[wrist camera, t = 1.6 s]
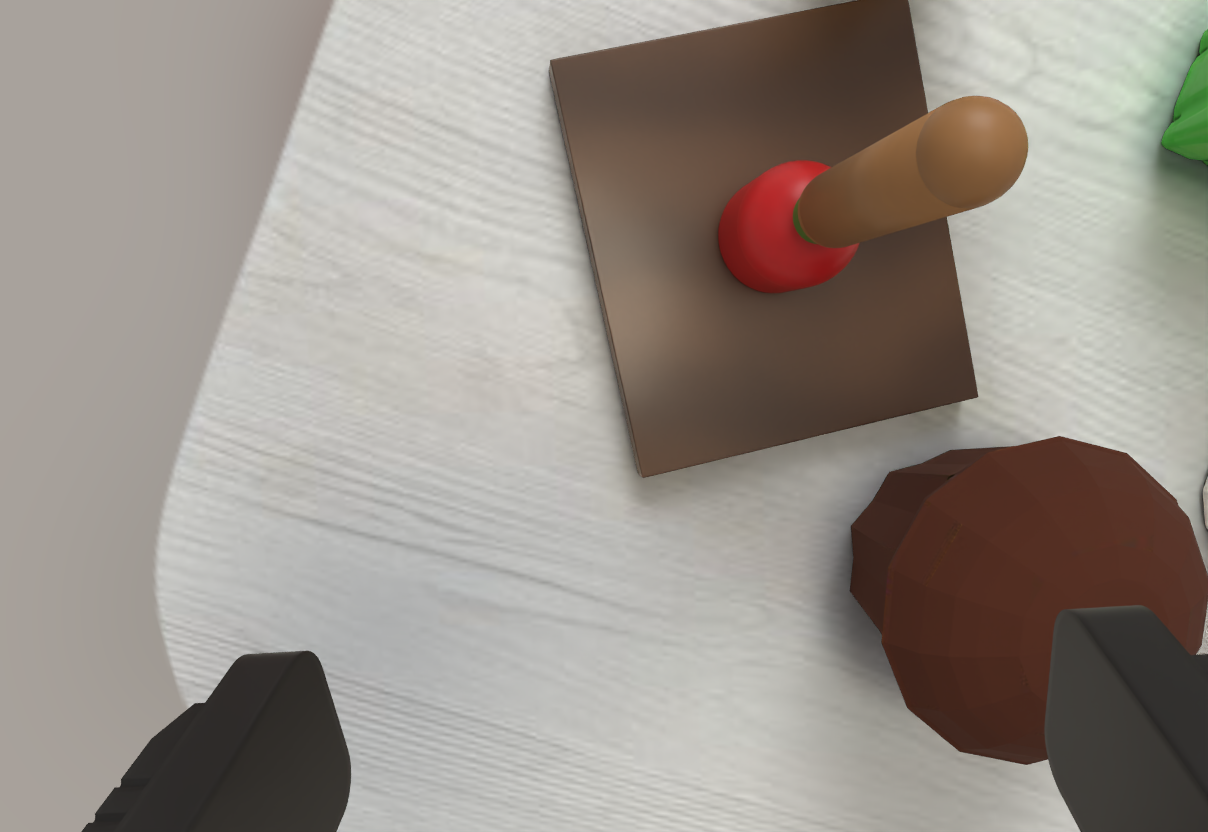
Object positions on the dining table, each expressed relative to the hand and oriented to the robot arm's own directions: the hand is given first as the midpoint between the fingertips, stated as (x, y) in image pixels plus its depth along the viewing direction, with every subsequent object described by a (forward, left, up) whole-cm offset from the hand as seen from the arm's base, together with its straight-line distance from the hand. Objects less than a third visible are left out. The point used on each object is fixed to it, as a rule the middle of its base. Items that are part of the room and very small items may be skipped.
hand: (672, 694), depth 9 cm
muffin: (+8, +15, -25) cm, 30 cm away
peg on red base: (-6, +10, -23) cm, 26 cm away
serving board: (-6, +10, -25) cm, 27 cm away
